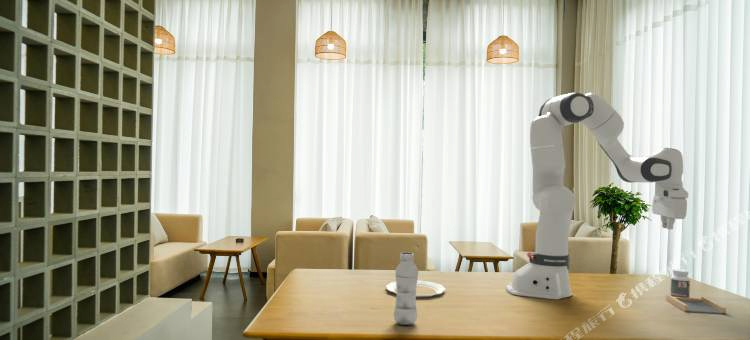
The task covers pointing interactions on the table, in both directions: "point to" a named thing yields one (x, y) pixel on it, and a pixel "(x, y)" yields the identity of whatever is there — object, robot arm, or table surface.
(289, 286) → the table surface
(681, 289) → the pill bottle
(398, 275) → the plastic bottle
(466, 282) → the table surface
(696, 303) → the wooden tray
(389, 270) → the table surface
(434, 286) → the plate
